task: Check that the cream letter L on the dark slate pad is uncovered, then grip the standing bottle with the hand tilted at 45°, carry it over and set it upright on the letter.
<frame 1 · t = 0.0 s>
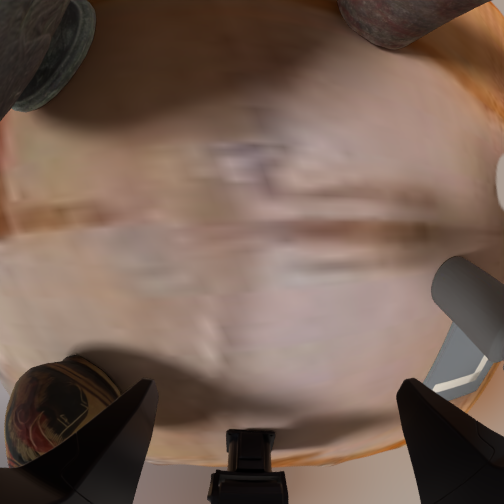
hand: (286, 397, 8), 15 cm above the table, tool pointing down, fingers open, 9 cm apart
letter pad: (467, 361, 28), on the table
decorative bowl: (46, 55, 15), on the table
candle: (371, 19, 15), on the table
bottle: (449, 280, 23), on the table
ceramic jug: (96, 385, 29), on the table
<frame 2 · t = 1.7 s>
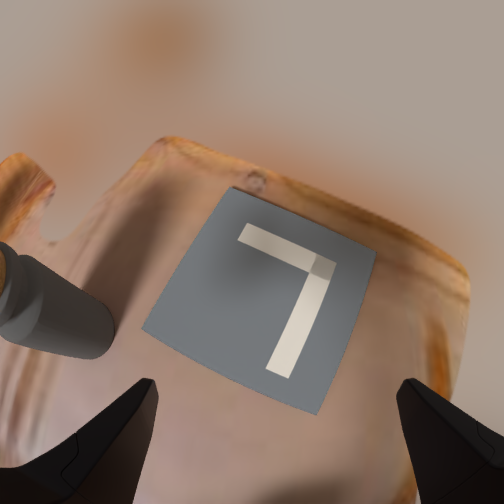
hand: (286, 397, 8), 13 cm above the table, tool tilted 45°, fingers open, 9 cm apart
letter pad: (268, 293, 24), on the table
bottle: (90, 329, 21), on the table
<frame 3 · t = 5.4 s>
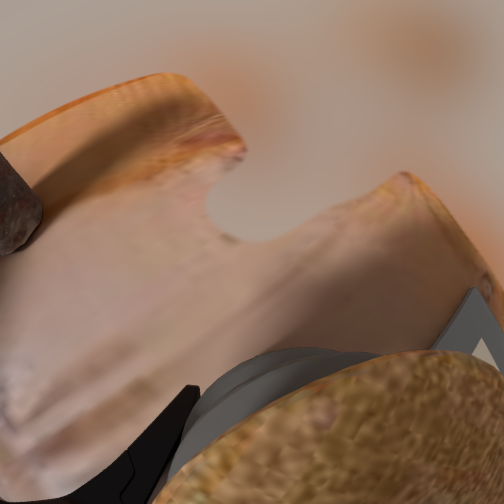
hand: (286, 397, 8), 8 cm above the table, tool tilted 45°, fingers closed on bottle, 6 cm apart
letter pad: (467, 417, 13), on the table
candle: (18, 229, 19), on the table
bottle: (265, 407, 15), on the table, touching gripper
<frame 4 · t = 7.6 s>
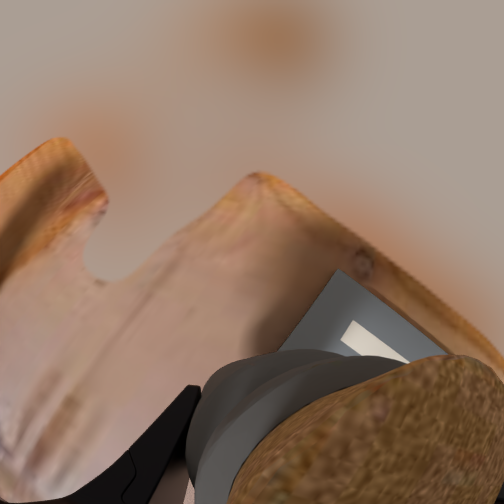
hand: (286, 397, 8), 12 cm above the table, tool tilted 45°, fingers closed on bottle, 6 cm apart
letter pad: (357, 398, 19), on the table
bottle: (247, 404, 15), point 4 cm above the table, touching gripper
when the fingers open (9 cm above the table, at t = 9.4 s): bottle stays where it is, resting on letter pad.
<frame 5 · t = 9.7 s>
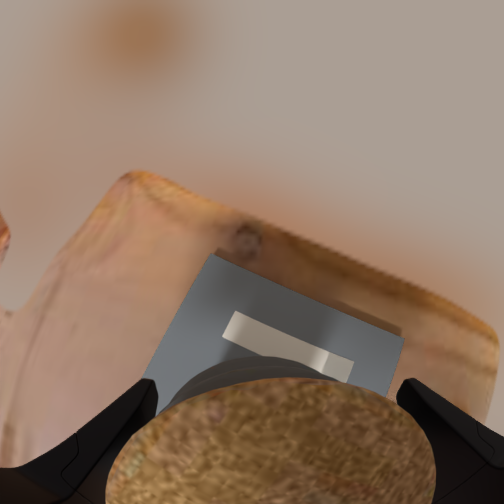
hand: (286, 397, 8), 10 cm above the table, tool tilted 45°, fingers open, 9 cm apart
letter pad: (263, 404, 16), on the table
bottle: (249, 406, 16), point 1 cm above the table, touching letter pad
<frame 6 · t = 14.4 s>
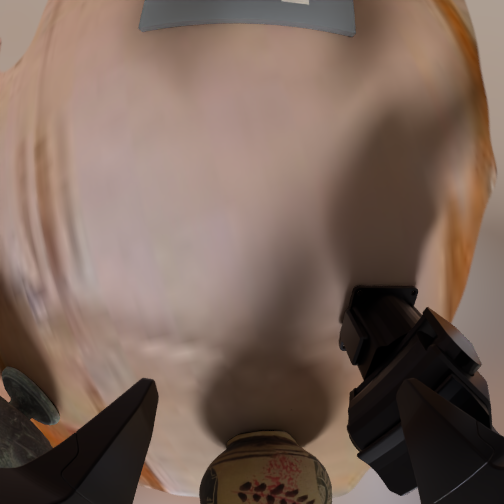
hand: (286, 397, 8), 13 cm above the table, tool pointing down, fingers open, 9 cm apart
decorative bowl: (32, 395, 30), on the table
ceramic jug: (268, 442, 29), on the table
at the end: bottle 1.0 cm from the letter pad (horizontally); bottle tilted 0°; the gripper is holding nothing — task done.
